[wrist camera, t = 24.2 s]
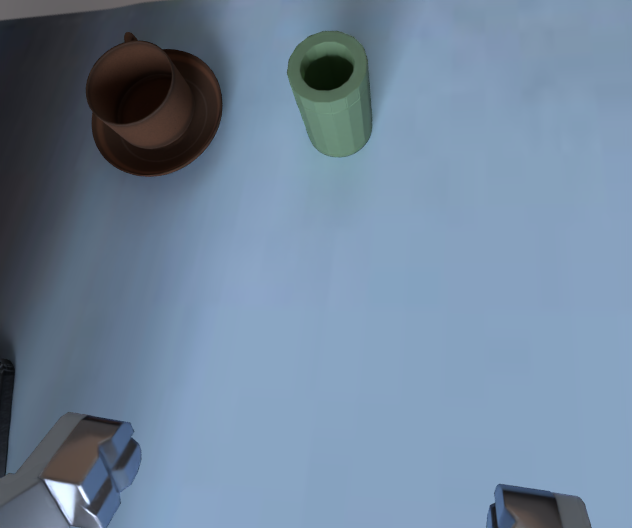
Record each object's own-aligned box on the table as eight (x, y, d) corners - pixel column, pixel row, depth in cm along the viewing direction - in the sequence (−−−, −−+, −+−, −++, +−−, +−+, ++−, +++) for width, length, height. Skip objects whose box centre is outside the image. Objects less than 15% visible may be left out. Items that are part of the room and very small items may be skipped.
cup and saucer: (83, 112, 44) (35, 72, 38) (188, 38, 44) (156, -13, 38) (141, 209, 41) (98, 183, 35) (254, 131, 41) (230, 91, 35)
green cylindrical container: (375, 99, 40) (371, 30, 31) (368, 159, 39) (362, 103, 30) (312, 98, 40) (293, 30, 32) (304, 156, 39) (282, 101, 31)
